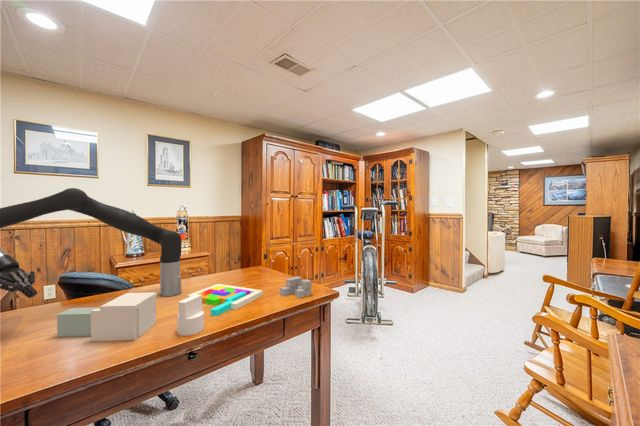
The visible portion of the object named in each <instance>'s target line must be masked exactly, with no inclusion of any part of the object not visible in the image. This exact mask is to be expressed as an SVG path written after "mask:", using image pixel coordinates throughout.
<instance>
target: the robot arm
mask: <svg viewBox="0 0 640 426" xmlns="http://www.w3.org/2000/svg"><path fill="white" fill-rule="evenodd" d="M62 211H71V212H76V213H79V214H82V215H85V216H89V217H92V218H93V219H95V220H98V221H99V222H102V223H103V224H106V225H108V226H110V227H112V228H114V229H116V230H119V231H122V232H124V233H128V234H130V235H133V236H137V237H142V238H145V239H149V240H150V241H153V243H157V244H158V245H160V247H161V251H160V253H161V254H160V257H159V284H160V286H159V289H160V290H159V292H160V293H159V296H160V297H173V296H177V295H181V294H182V276H181V256H182V237H181V235H180V233H178V232H176V231H174V230H171V229H170V230H169V229H166V228H162V227H160V226H158V225H155V224H152V223H151V222H149V221H148V220H146V219H144V218H143V217H141V216H139V215H138V214H134V213H132V212H130V211H129V210H126V209H123V208H119V207H117V206H113V205H108V204H105V203H103V202H100V201H98V200H96V199H94V198H93V197H90V196H89V195H87V193H86V192H85V191H84V190H82V189H80V188H76V187H75V188H74V187H71V188H70V187H69V188H66V189H64V190H61V191H59V192H57V193H55V194H51V195H49V196H46V197H43V198H39V199H35V200H31V201H27V202H21V203H17V204H12V205H8V206H4V207H0V229H2V228H6V227H9V226H13V225H17V224H20V223H23V222H27V221H30V220H33V219H36V218H39V217H41V216H44V215H48V214H52V213H56V212H62ZM35 282H36V272H35V271H33V270H32V271H30V272H28V271H25V269H22V268H21V267H20V263H19V262H18V261H17V260H16V259H15V258H14V257H12V255H10V254H9V253H8V252H7V251H6V250H5V249H3V248H2V247H0V289H1V290H4V291H8V292H11V293H14V292H20V293H21V294H23V296H24V297H26V298H28V299H31V298H33V297H35V296H37V295H38V290H36V289H35V288H34V287H33V286H32V285H34V284H35Z"/></svg>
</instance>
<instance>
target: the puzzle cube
mask: <svg viewBox="0 0 640 426" xmlns="http://www.w3.org/2000/svg"><path fill="white" fill-rule="evenodd" d="M312 288H313V287H312V280H310V279H308V278H307V279H303V277H302V276H298V275H297V276H293V277H287V278H286V279H285V286H280V287H279V296H283V297H287V296H291V295H294V297H295V298H296V297H297V299H299V298H301V299H303V298H302V297H304V298H306V297H305V296H308V297H310V296H309V295H311V296H312ZM294 293H295V294H294ZM290 294H291V295H290Z"/></svg>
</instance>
